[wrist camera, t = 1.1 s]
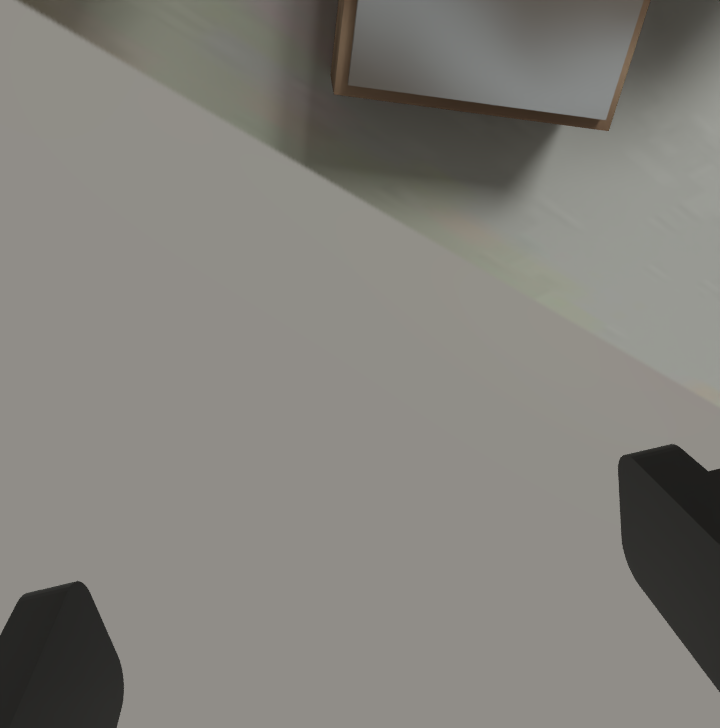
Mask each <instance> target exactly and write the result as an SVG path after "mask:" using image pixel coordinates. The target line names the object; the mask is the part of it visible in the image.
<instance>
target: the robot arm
mask: <svg viewBox="0 0 720 728" xmlns="http://www.w3.org/2000/svg"><path fill="white" fill-rule="evenodd" d="M618 477H619V496H620V515H621V535H622V545H623V549H624V554H625V557H626V560H627V563H628V566H629V568H630V570H631V572H632V574H633V576H634V578H635V580H636V581H637V583H638V584H639V586H640V587H641V588H642V589H643V591H644V592H645V593H646V595H647V596H648V597H649V599H650V600H651V601H652V603H653V604H654V605H655V607H656V608H657V609H658V611H659V612H660V613H661V615H662V616H663V617H664V619H665V620H666V621H667V623H668V624H669V625H670V626H671V628H672V629H673V631H674V632H675V633H676V635H677V636H678V637H679V639H680V640H681V641H682V643H683V644H684V645H685V646H686V648H687V649H688V651H689V652H690V653H691V654H692V656H693V657H694V658H695V660H696V661H697V663H698V664H699V665H700V666H701V668H702V669H703V671H704V672H705V673H706V674H707V676H708V677H709V678H710V680H711V681H712V682H713V683H714V685H715V686H716V688H717V689H718V690H719V692H720V469H717V470H712V471H707V470H706V469H705V468H704V467H702V466H701V465H700V464H699V463H697V462H696V461H695V460H694V459H693V458H692V457H691V456H689V455H688V454H687V453H686V452H685V451H684V450H682V449H681V448H680V447H678V446H677V445H674V444H670V445H666V446H661V447H657V448H653V449H649V450H644V451H640V452H636V453H631V454H627V455H623V456H622V457H621V458H620V460H619V464H618ZM123 694H124V682H123V673H122V668H121V664H120V660H119V658H118V655H117V653H116V651H115V648H114V646H113V644H112V642H111V639H110V637H109V635H108V632H107V630H106V628H105V626H104V623H103V621H102V619H101V617H100V614H99V612H98V610H97V607H96V605H95V603H94V601H93V599H92V596H91V594H90V592H89V590H88V589H87V587H86V586H85V585H84V584H83V583H82V582H79V581H77V582H72V583H68V584H64V585H60V586H56V587H51V588H47V589H43V590H38V591H34V592H30V593H26V594H24V595H23V596H22V597H21V598H20V599H19V601H18V602H17V604H16V606H15V608H14V610H13V612H12V614H11V616H10V618H9V619H8V622H7V623H6V625H5V627H4V629H3V631H2V633H1V635H0V728H117V723H118V720H119V716H120V712H121V708H122V703H123Z"/></svg>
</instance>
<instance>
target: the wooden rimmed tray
mask: <svg viewBox="0 0 720 728" xmlns="http://www.w3.org/2000/svg"><path fill="white" fill-rule="evenodd" d="M649 3H650V0H338V10H337V19H336V29H335V38H334V48H333V57H332V66H331V80H332V86H333V92H334V94H335V95H343V96H350V97H358V98H365V99H373V100H380V101H388V102H395V103H403V104H410V105H418V106H425V107H433V108H440V109H448V110H455V111H463V112H470V113H478V114H485V115H493V116H500V117H507V118H515V119H522V120H530V121H537V122H545V123H552V124H560V125H567V126H575V127H582V128H590V129H597V130H605V131H609V128H610V125H611V122H612V119H613V116H614V113H615V109H616V106H617V103H618V100H619V97H620V94H621V91H622V88H623V84H624V81H625V78H626V75H627V72H628V69H629V66H630V63H631V60H632V56H633V53H634V50H635V47H636V44H637V41H638V38H639V35H640V31H641V28H642V25H643V22H644V19H645V16H646V13H647V10H648V7H649Z"/></svg>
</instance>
